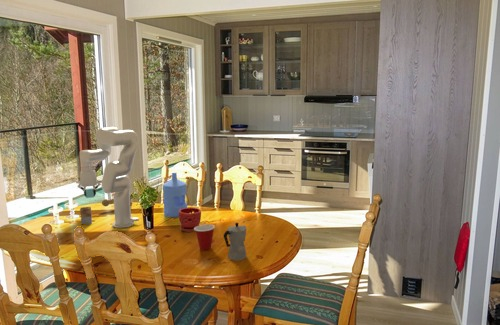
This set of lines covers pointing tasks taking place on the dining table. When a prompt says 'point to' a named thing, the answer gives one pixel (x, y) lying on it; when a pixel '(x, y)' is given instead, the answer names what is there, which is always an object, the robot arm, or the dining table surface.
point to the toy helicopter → (112, 201)
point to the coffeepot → (236, 242)
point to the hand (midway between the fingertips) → (90, 195)
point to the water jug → (174, 196)
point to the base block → (86, 220)
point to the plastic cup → (204, 236)
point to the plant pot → (189, 219)
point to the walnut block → (85, 211)
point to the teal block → (89, 193)
